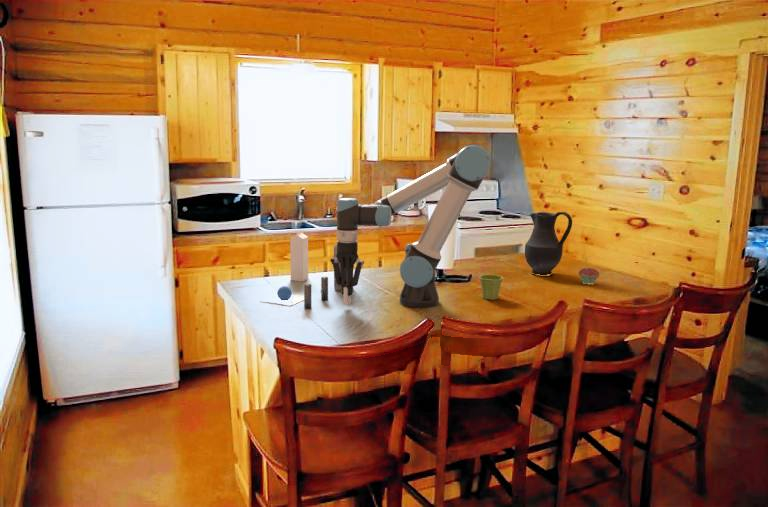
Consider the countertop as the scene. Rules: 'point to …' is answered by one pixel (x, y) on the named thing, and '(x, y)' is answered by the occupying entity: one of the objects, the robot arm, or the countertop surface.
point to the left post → (307, 296)
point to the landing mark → (297, 299)
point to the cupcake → (588, 274)
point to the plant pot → (490, 286)
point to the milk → (299, 256)
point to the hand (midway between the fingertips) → (347, 303)
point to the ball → (284, 293)
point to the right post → (324, 288)
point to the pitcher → (545, 243)
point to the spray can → (336, 286)
